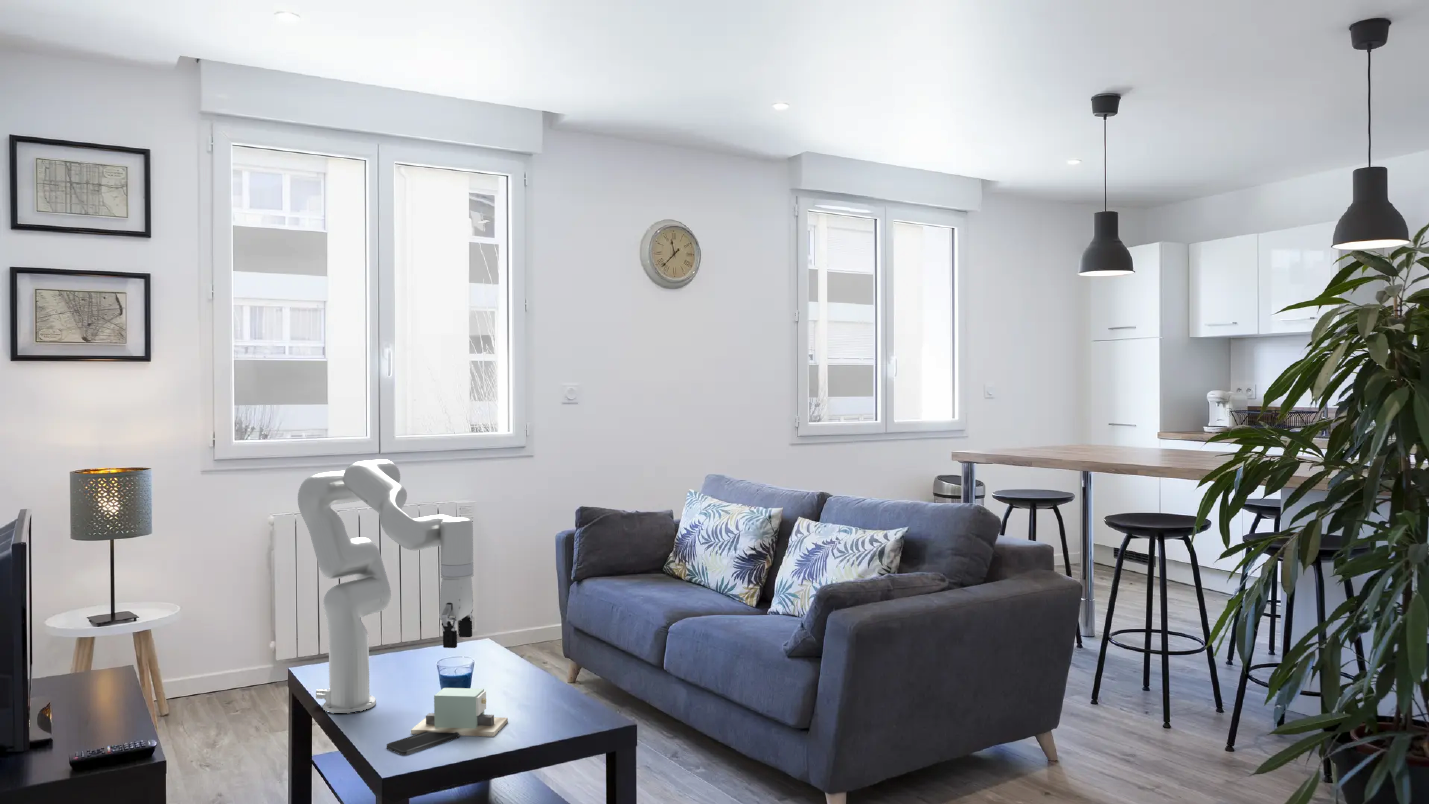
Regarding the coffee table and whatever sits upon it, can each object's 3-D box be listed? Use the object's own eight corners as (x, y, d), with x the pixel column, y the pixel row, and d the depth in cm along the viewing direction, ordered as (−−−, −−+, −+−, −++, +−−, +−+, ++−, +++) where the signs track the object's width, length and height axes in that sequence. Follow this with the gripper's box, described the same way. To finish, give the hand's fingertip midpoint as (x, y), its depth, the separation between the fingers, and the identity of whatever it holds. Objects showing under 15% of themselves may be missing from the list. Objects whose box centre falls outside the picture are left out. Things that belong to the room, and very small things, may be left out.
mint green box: (434, 727, 234) (434, 695, 234) (444, 718, 240) (443, 687, 240) (481, 728, 233) (481, 696, 233) (490, 720, 239) (489, 688, 239)
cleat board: (410, 734, 233) (410, 721, 233) (428, 719, 243) (427, 707, 243) (493, 736, 231) (493, 723, 231) (507, 721, 241) (507, 709, 241)
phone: (461, 733, 231) (403, 752, 219) (461, 738, 231) (404, 757, 219) (441, 726, 236) (384, 744, 224) (441, 731, 236) (384, 749, 224)
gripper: (455, 563, 246) (456, 632, 246) (427, 577, 228) (428, 651, 229) (485, 564, 245) (485, 633, 245) (458, 577, 228) (459, 652, 228)
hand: (458, 642), depth 237 cm, fingers open, 9 cm apart
